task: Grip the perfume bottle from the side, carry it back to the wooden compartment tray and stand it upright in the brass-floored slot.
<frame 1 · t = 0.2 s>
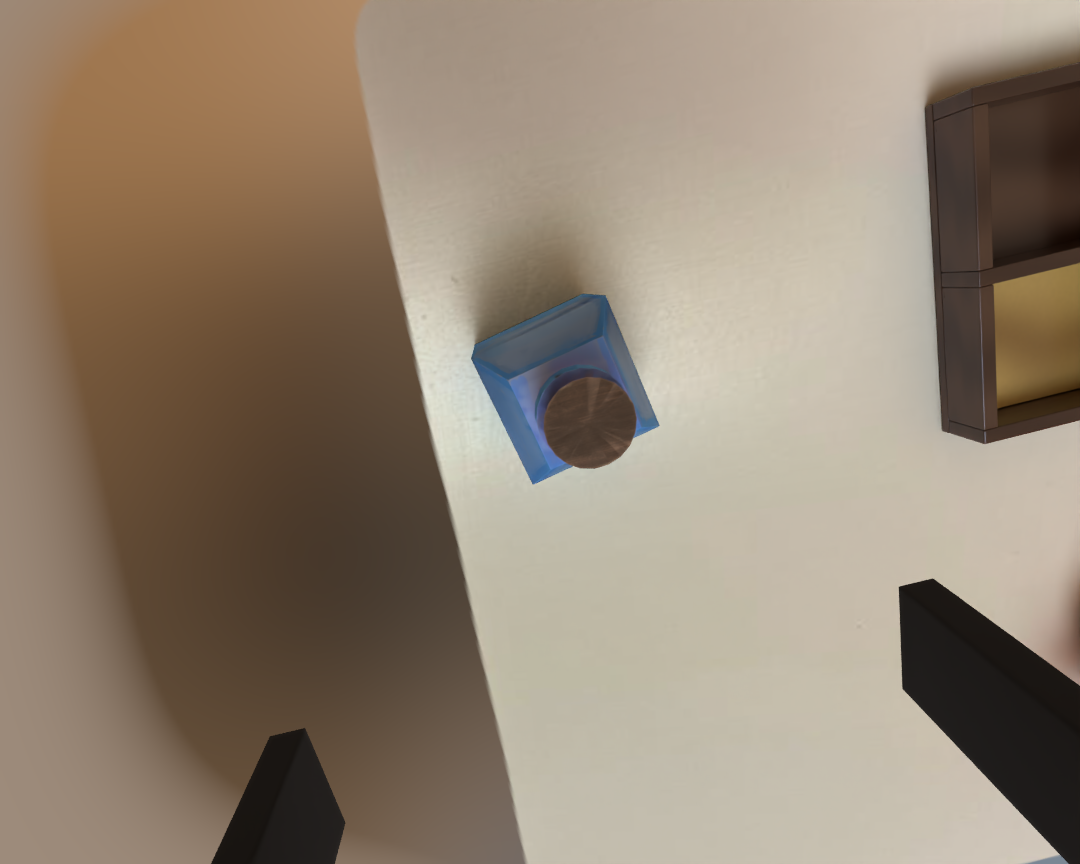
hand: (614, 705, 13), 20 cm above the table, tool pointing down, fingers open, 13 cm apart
perfume bottle: (552, 372, 31), on the table
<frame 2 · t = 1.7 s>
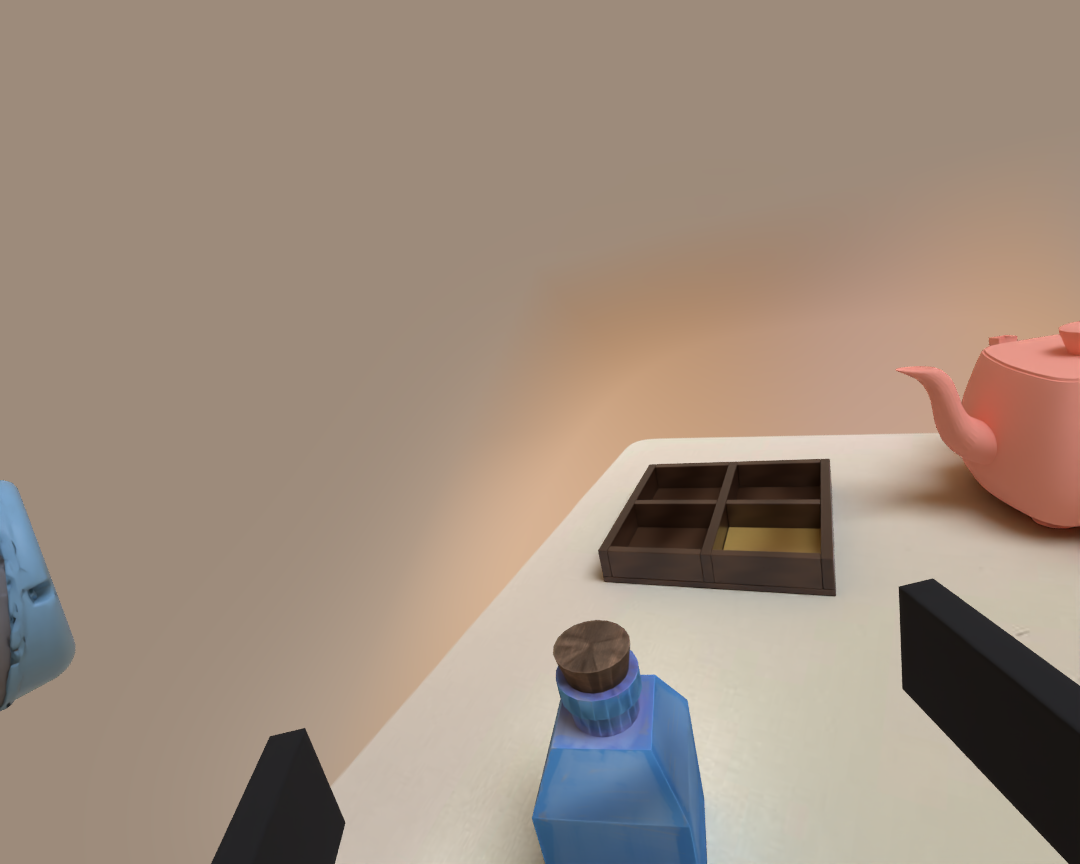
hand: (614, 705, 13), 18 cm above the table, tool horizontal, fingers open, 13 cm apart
perfume bottle: (639, 858, 27), on the table
wooden compartment tray: (725, 531, 53), on the table
teapot: (1078, 501, 46), on the table
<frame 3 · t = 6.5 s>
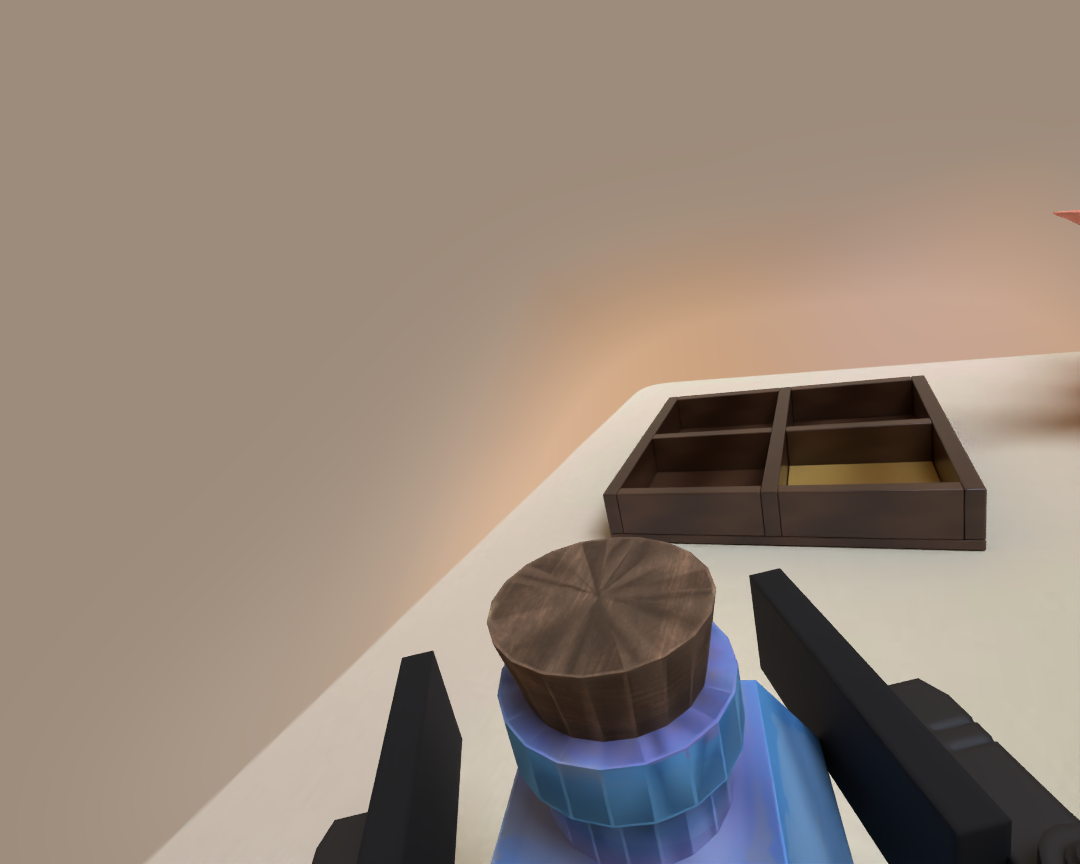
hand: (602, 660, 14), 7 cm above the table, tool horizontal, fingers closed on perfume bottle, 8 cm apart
wooden compartment tray: (783, 473, 37), on the table
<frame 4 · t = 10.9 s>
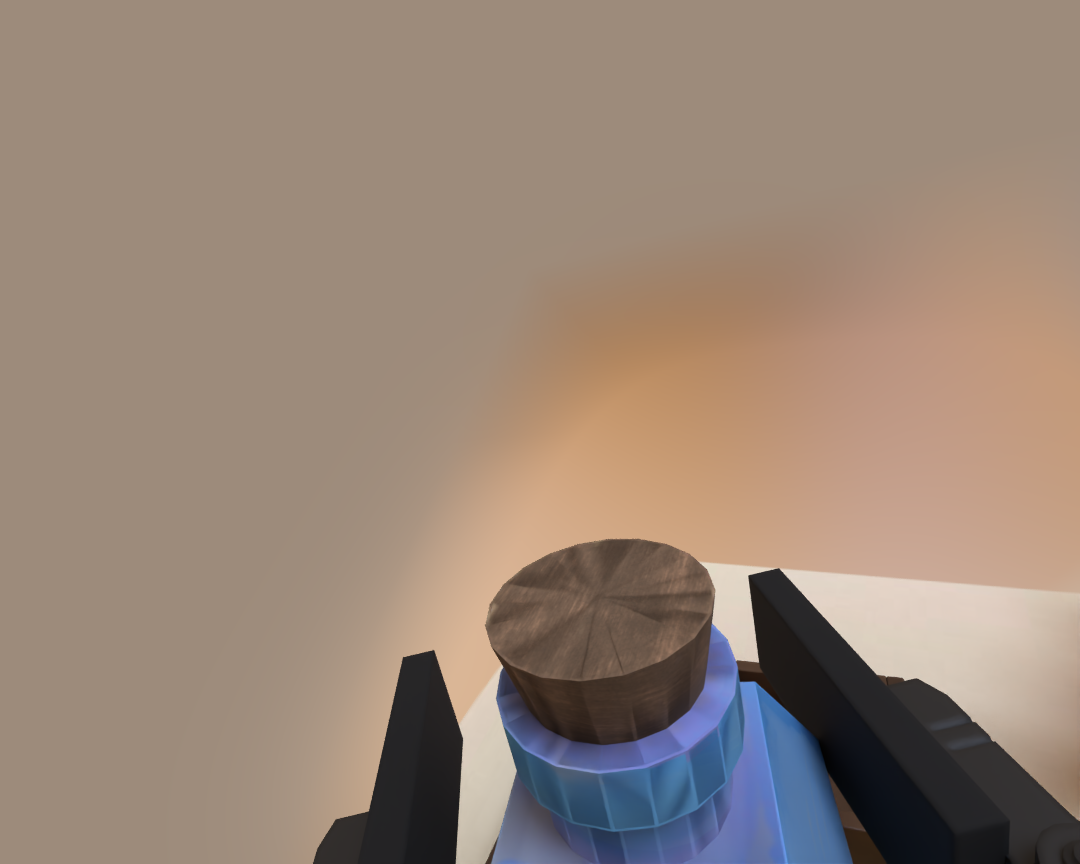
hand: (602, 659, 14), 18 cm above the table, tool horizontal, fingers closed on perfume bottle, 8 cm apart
wooden compartment tray: (714, 837, 28), on the table
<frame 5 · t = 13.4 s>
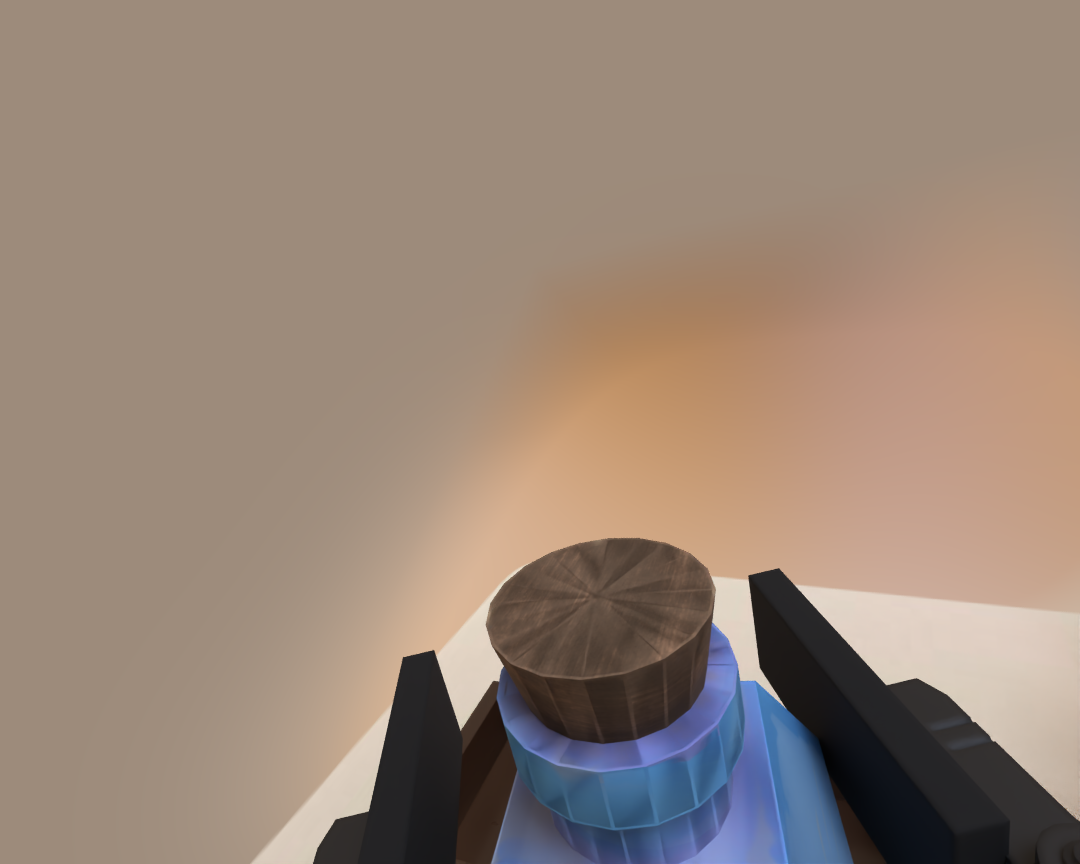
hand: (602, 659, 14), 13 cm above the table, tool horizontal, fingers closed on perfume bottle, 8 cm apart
when the fingers open (8 cm above the table, at t = 15.3 s): perfume bottle stays where it is, resting on wooden compartment tray.
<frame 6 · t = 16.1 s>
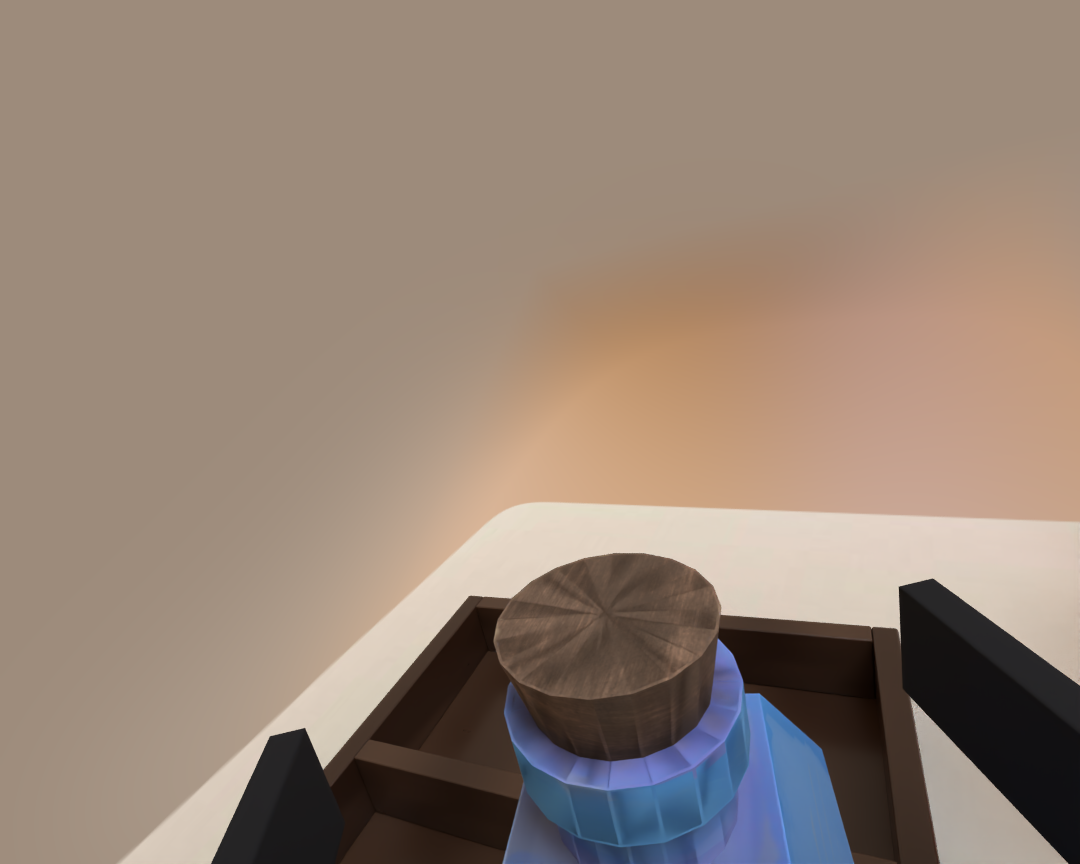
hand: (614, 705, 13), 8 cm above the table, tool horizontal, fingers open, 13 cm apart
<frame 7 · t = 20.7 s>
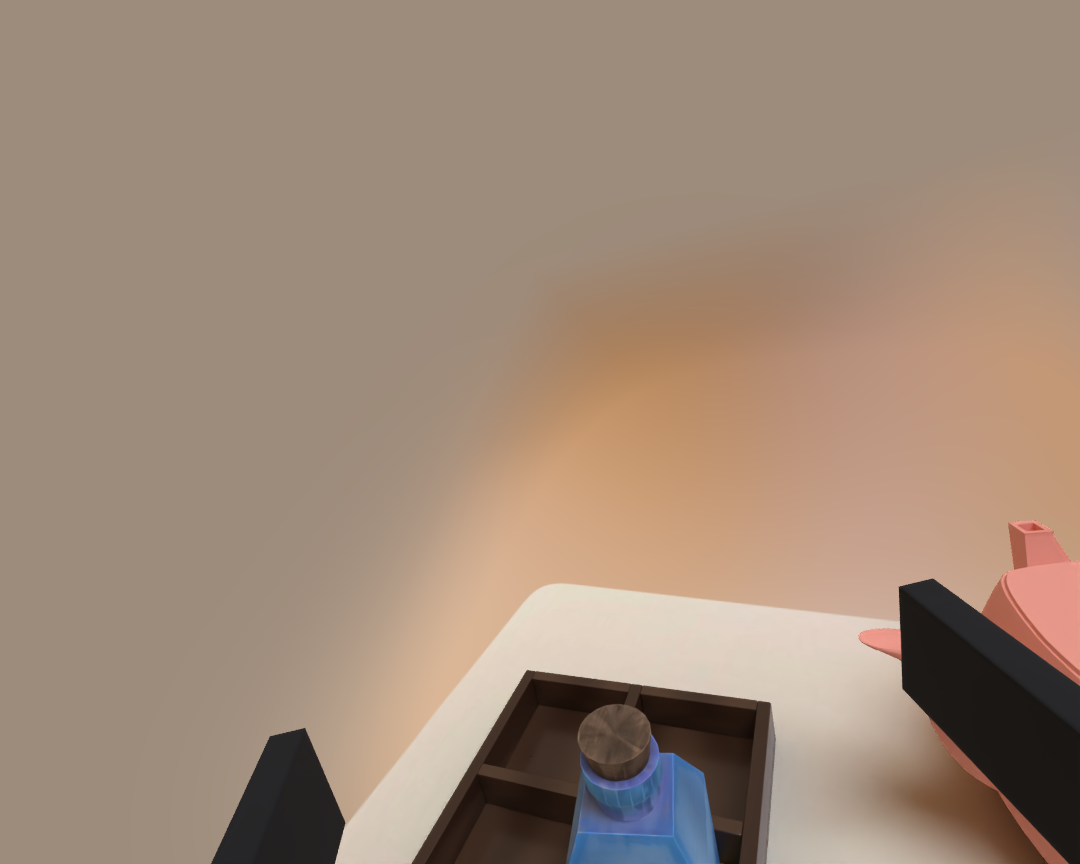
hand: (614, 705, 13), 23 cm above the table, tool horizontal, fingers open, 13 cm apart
wooden compartment tray: (606, 833, 34), on the table
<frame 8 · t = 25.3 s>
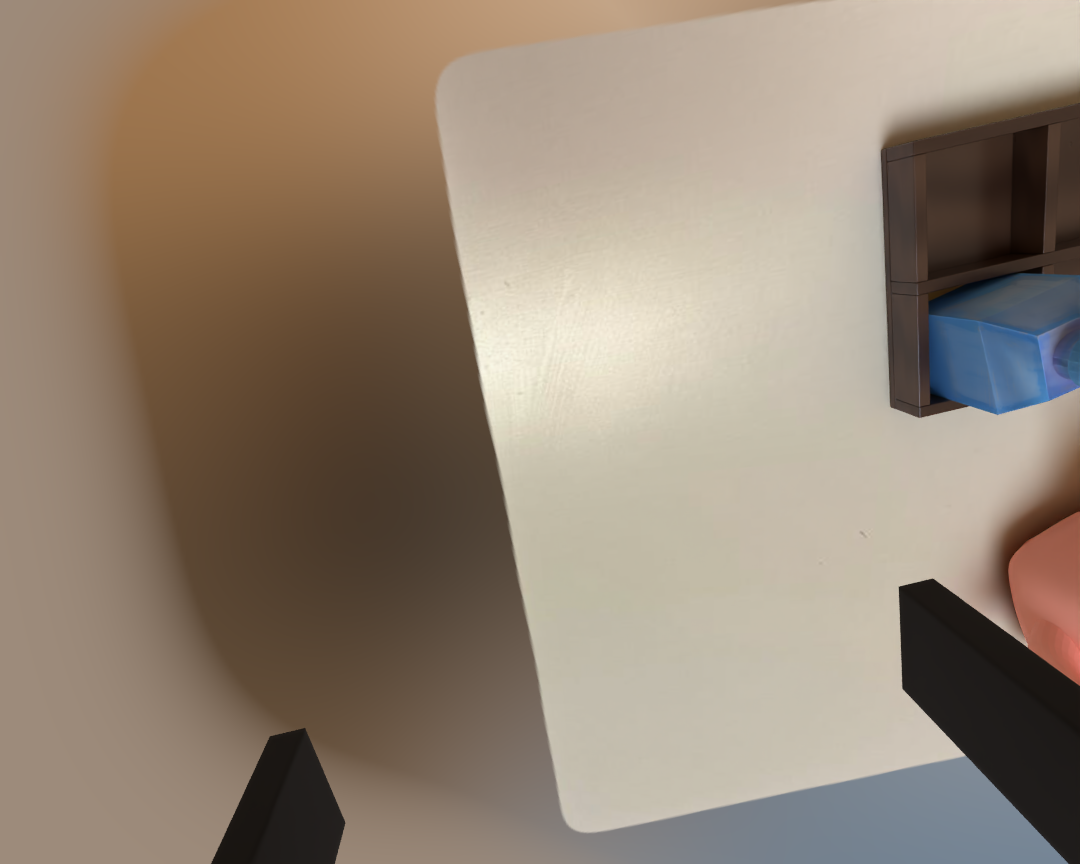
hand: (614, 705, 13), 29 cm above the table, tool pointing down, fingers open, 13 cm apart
perfume bottle: (955, 333, 41), point 1 cm above the table, touching wooden compartment tray
wooden compartment tray: (1009, 258, 40), on the table
teapot: (1069, 565, 48), on the table
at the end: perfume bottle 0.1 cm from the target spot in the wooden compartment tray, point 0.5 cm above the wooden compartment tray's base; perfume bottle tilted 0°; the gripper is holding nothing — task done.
